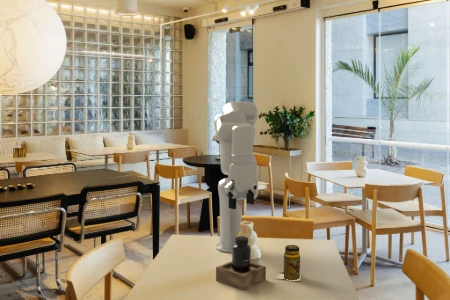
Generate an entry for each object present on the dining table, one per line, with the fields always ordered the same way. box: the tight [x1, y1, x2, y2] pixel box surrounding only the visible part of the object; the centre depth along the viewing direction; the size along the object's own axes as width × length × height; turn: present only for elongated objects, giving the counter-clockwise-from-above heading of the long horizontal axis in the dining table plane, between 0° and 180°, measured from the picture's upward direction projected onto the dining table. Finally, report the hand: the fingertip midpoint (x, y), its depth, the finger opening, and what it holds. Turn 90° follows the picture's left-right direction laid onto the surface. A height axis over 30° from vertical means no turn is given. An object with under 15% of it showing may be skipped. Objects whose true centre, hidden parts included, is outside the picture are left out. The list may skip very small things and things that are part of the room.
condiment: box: [279, 244, 303, 280], centre depth 184 cm, size 7×8×12 cm
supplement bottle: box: [231, 235, 252, 272], centre depth 181 cm, size 7×7×12 cm
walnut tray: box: [215, 260, 267, 291], centre depth 181 cm, size 13×13×5 cm
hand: (241, 206), depth 179 cm, fingers open, 9 cm apart
